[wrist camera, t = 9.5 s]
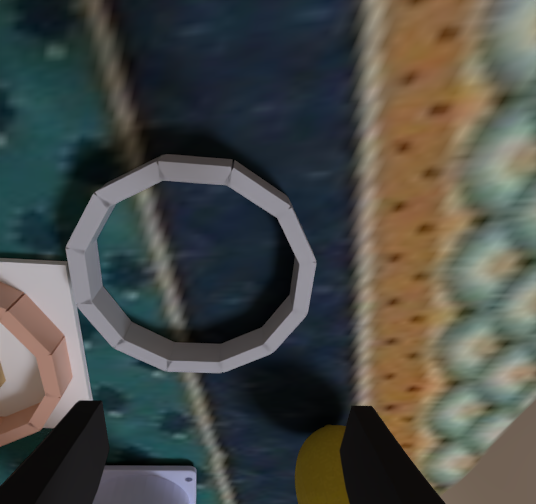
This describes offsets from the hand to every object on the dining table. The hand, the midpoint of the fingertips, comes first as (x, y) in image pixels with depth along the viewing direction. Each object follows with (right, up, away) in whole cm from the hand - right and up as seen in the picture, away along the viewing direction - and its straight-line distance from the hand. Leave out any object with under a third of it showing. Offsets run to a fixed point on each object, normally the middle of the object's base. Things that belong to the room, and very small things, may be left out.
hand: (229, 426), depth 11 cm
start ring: (-3, +4, +8) cm, 10 cm away
